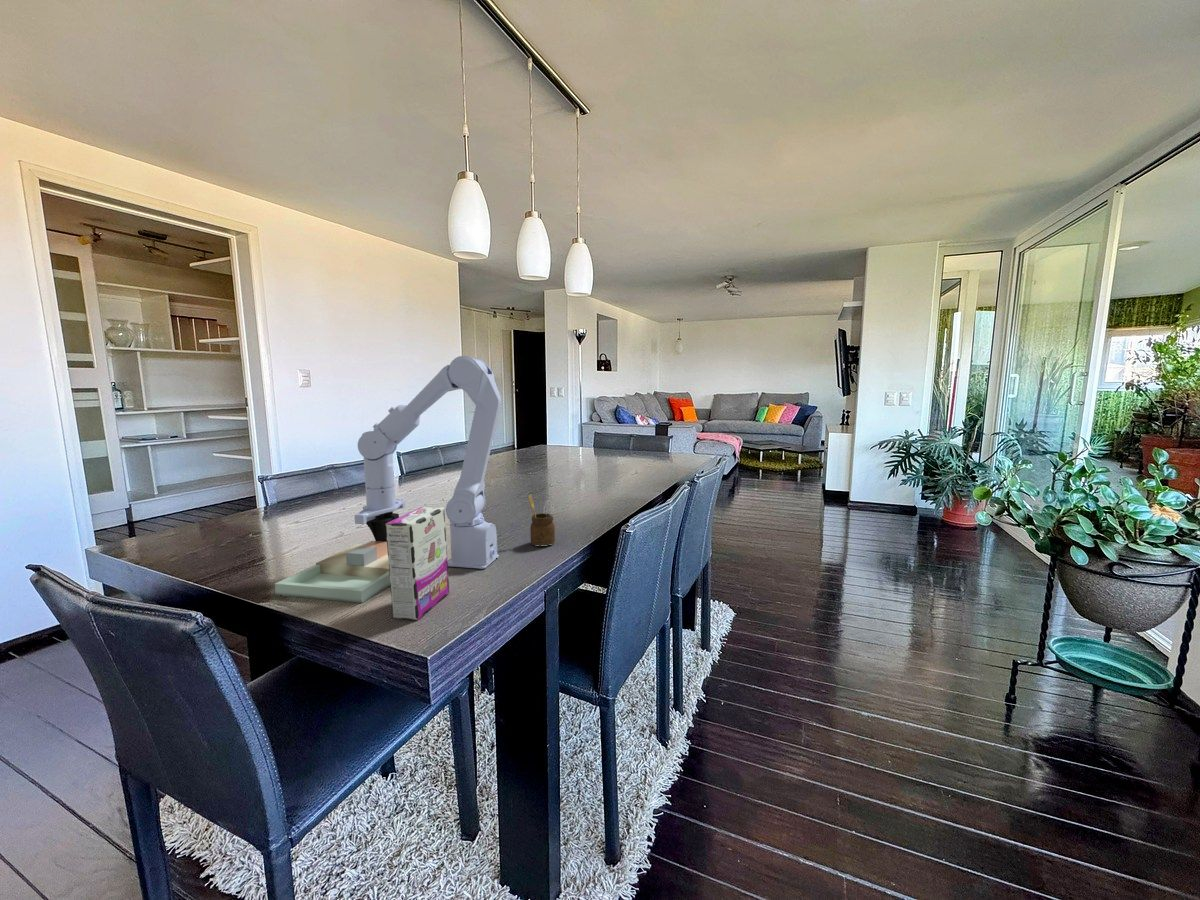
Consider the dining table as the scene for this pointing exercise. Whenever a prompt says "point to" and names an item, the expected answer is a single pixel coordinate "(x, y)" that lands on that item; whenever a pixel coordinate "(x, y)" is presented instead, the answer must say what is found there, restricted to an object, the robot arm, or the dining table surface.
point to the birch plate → (340, 567)
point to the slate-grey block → (361, 556)
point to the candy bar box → (417, 562)
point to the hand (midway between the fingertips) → (383, 547)
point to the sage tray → (331, 586)
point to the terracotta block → (378, 547)
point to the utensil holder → (542, 527)
